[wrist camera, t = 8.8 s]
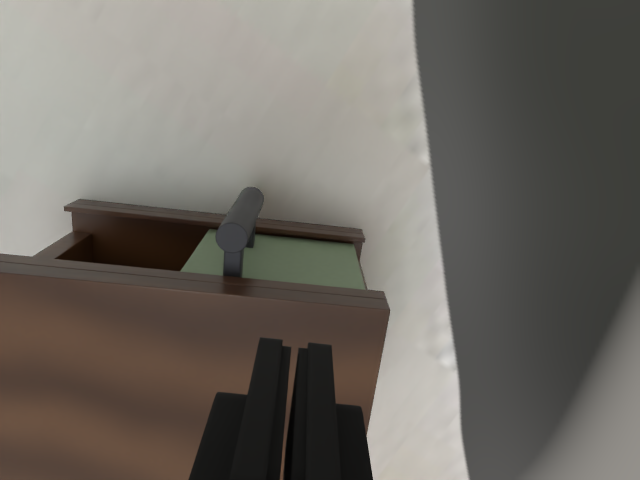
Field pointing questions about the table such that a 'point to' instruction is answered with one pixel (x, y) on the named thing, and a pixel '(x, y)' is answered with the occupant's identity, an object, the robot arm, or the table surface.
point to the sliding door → (271, 252)
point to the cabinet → (155, 342)
